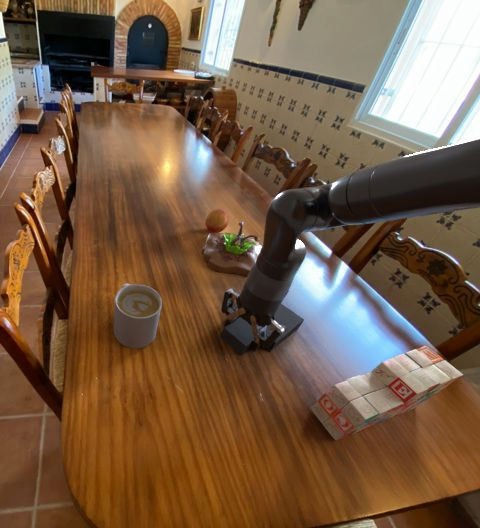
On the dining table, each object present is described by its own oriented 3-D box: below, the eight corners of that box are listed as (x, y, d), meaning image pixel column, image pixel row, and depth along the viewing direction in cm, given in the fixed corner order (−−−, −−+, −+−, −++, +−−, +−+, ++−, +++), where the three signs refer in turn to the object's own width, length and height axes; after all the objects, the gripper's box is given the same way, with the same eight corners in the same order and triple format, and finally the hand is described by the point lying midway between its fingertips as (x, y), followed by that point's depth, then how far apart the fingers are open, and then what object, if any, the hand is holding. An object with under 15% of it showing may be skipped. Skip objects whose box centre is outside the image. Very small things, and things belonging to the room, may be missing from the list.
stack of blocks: (335, 442, 52) (377, 410, 44) (308, 408, 57) (342, 374, 49) (416, 407, 58) (465, 374, 51) (386, 379, 63) (427, 344, 55)
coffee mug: (160, 346, 65) (167, 316, 59) (115, 350, 64) (117, 320, 58) (148, 302, 76) (153, 272, 69) (110, 304, 74) (111, 274, 68)
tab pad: (263, 338, 69) (269, 329, 67) (241, 356, 65) (246, 346, 63) (242, 321, 73) (247, 312, 70) (220, 337, 69) (224, 327, 66)
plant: (260, 243, 100) (272, 214, 93) (270, 281, 85) (286, 250, 78) (201, 233, 102) (208, 204, 95) (200, 269, 87) (209, 237, 80)
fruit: (230, 234, 103) (237, 214, 98) (212, 239, 100) (218, 218, 95) (216, 223, 109) (221, 203, 104) (198, 227, 106) (203, 207, 101)
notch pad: (298, 328, 72) (304, 319, 70) (269, 352, 66) (275, 343, 64) (256, 298, 79) (261, 289, 77) (227, 317, 73) (231, 307, 71)
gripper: (224, 271, 60) (205, 324, 70) (289, 318, 51) (256, 371, 62) (247, 259, 63) (225, 312, 74) (311, 301, 55) (276, 353, 65)
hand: (239, 338), depth 68 cm, fingers closed on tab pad, 6 cm apart
